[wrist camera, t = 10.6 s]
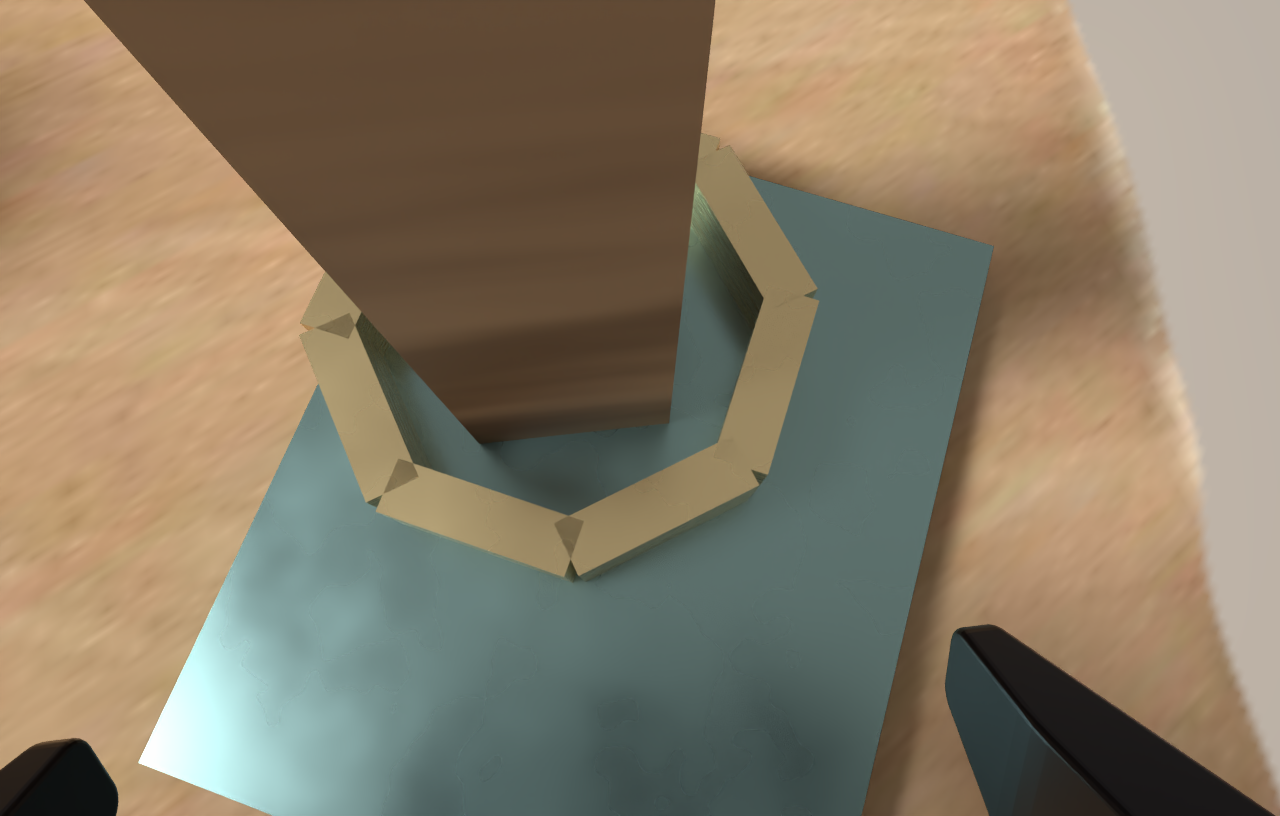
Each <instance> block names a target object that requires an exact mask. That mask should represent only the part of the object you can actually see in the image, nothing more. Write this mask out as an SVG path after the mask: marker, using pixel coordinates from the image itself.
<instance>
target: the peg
mask: <svg viewBox="0 0 1280 816" xmlns="http://www.w3.org/2000/svg"><path fill="white" fill-rule="evenodd" d="M84 1H85V2H86V3H87V4H88V5H89V7H90V8H91V9H92V10H93V11H94V12H95V13H96V14H97V16H98V17H99V18H100V19H101V20H102V21H103V22H104V23H105V25H106V26H107V27H108V28H109V29H110V30H111V31H112V32H113V34H114V35H115V36H116V37H117V38H118V39H119V40H120V41H121V42H122V44H123V45H124V46H125V47H126V48H127V49H128V50H129V51H130V53H131V54H132V55H133V56H134V57H135V58H136V59H137V60H138V62H139V63H140V64H141V65H142V66H143V67H144V68H145V69H146V71H147V72H148V73H149V74H150V75H151V76H152V77H153V78H154V80H155V81H156V82H157V83H158V84H159V85H160V86H161V87H162V88H163V90H164V91H165V92H166V93H167V94H168V95H169V96H170V97H171V99H172V100H173V101H174V102H175V103H176V104H177V105H178V106H179V108H180V109H181V110H182V111H183V112H184V113H185V114H186V115H187V117H188V118H189V119H190V120H191V121H192V122H193V123H194V124H195V126H196V127H197V128H198V129H199V130H200V131H201V132H202V133H203V134H204V136H205V137H206V138H207V139H208V140H209V141H210V142H211V143H212V145H213V146H214V147H215V148H216V149H217V150H218V151H219V152H220V154H221V155H222V156H223V157H224V158H225V159H226V160H227V161H228V163H229V164H230V165H231V166H232V167H233V168H234V169H235V170H236V172H237V173H238V174H239V175H240V176H241V177H242V178H243V179H244V181H245V182H246V183H247V184H248V185H249V186H250V187H251V188H252V189H253V191H254V192H255V193H256V194H257V195H258V196H259V197H260V198H261V200H262V201H263V202H264V203H265V204H266V205H267V206H268V207H269V209H270V210H271V211H272V212H273V213H274V214H275V215H276V216H277V218H278V219H279V220H280V221H281V222H282V223H283V224H284V225H285V227H286V228H287V229H288V230H289V231H290V232H291V233H292V234H293V235H294V237H295V238H296V239H297V240H298V241H299V242H300V243H301V244H302V246H303V247H304V248H305V249H306V250H307V251H308V252H309V253H310V255H311V256H312V257H313V258H314V259H315V260H316V261H317V262H318V264H319V265H320V266H321V267H322V268H323V269H324V270H325V271H326V273H327V274H328V275H329V276H330V277H331V278H332V279H333V280H334V281H335V283H336V284H337V285H338V286H339V287H340V288H341V289H342V290H343V292H344V293H345V294H346V295H347V296H348V297H349V298H350V299H351V301H352V302H353V303H354V304H355V305H356V306H357V307H358V308H359V310H360V311H361V312H362V313H363V314H364V315H365V316H366V317H367V319H368V320H369V321H370V322H371V323H372V324H373V325H374V326H375V327H376V329H377V330H378V331H379V332H380V333H381V334H382V335H383V336H384V338H385V339H386V340H387V341H388V342H389V343H390V344H391V345H392V347H393V348H394V349H395V350H396V351H397V352H398V353H399V354H400V356H401V357H402V358H403V359H404V360H405V361H406V362H407V363H408V365H409V366H410V367H411V368H412V369H413V370H414V371H415V372H416V374H417V375H418V376H419V377H420V378H421V379H422V380H423V381H424V382H425V384H426V385H427V386H428V387H429V388H430V389H431V390H432V391H433V393H434V394H435V395H436V396H437V397H438V398H439V399H440V400H441V402H442V403H443V404H444V405H445V406H446V407H447V408H448V409H449V411H450V412H451V413H452V414H453V415H454V416H455V417H456V418H457V420H458V421H459V422H460V423H461V424H462V425H463V426H464V427H465V428H466V430H467V431H468V432H469V433H470V434H471V435H472V436H473V437H474V439H475V440H476V441H477V442H478V443H479V444H483V443H492V442H502V441H511V440H520V439H529V438H538V437H547V436H557V435H566V434H575V433H584V432H593V431H602V430H612V429H621V428H630V427H639V426H648V425H657V424H667V423H669V420H670V411H671V401H672V392H673V383H674V374H675V365H676V356H677V347H678V337H679V328H680V319H681V310H682V301H683V292H684V283H685V273H686V264H687V255H688V246H689V237H690V228H691V219H692V209H693V200H694V191H695V182H696V173H697V164H698V155H699V145H700V136H701V127H702V118H703V109H704V100H705V91H706V81H707V72H708V63H709V54H710V45H711V36H712V27H713V17H714V8H715V0H84Z"/></svg>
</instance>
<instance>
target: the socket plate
mask: <svg viewBox="0 0 1280 816" xmlns="http://www.w3.org/2000/svg"><path fill="white" fill-rule="evenodd" d="M719 144H720V138H717V137H714V136H710V135H707V134H703V133H701V136H700V145H699V155H698V164H697V173H696V182H695V191H694V200H693V209H692V219H691V228H690V237H689V246H688V255H687V264H686V273H685V283H684V292H683V301H682V310H681V319H680V328H679V337H678V347H677V356H676V365H675V374H674V383H673V392H672V401H671V411H670V420H669V423H667V424H657V425H648V426H639V427H630V428H621V429H612V430H602V431H593V432H584V433H575V434H566V435H557V436H547V437H538V438H529V439H520V440H511V441H502V442H492V443H483V444H479V443H478V442H477V441H476V440H475V439H474V437H473V436H472V435H471V434H470V433H469V432H468V431H467V430H466V428H465V427H464V426H463V425H462V424H461V423H460V422H459V421H458V420H457V418H456V417H455V416H454V415H453V414H452V413H451V412H450V411H449V409H448V408H447V407H446V406H445V405H444V404H443V403H442V402H441V400H440V399H439V398H438V397H437V396H436V395H435V394H434V393H433V391H432V390H431V389H430V388H429V387H428V386H427V385H426V384H425V382H424V381H423V380H422V379H421V378H420V377H419V376H418V375H417V374H416V372H415V371H414V370H413V369H412V368H411V367H410V366H409V365H408V363H407V362H406V361H405V360H404V359H403V358H402V357H401V356H400V354H399V353H398V352H397V351H396V350H395V349H394V348H393V347H392V345H391V344H390V343H389V342H388V341H387V340H386V339H385V338H384V336H383V335H382V334H381V333H380V332H379V331H378V330H377V329H376V327H375V326H374V325H373V324H372V323H371V322H370V321H369V320H368V319H367V317H366V316H365V315H364V314H363V313H362V312H361V311H360V310H359V308H358V307H357V306H356V305H355V304H354V303H353V302H352V301H351V299H350V298H349V297H348V296H347V295H346V294H345V293H344V292H343V290H342V289H341V288H340V287H339V286H338V285H337V284H336V283H335V281H334V280H333V279H332V278H331V277H330V276H329V275H328V274H327V273H326V271H325V273H324V275H323V277H322V279H321V281H320V283H319V285H318V287H317V289H316V291H315V293H314V295H313V297H312V299H311V301H310V303H309V306H308V308H307V310H306V312H305V314H304V316H303V318H302V320H301V322H300V324H302V325H303V326H304V327H305V328H306V329H307V330H308V331H307V332H305V333H303V334H301V335H299V336H300V339H301V341H302V344H303V346H304V349H305V351H306V354H307V356H308V359H309V361H310V364H311V366H312V369H313V371H314V374H315V376H316V379H317V381H318V385H317V387H316V389H315V392H314V394H313V396H312V398H311V400H310V402H309V404H308V406H307V408H306V411H305V413H304V415H303V417H302V419H301V421H300V423H299V425H298V427H297V430H296V432H295V434H294V436H293V438H292V440H291V442H290V444H289V446H288V449H287V451H286V453H285V455H284V457H283V459H282V461H281V463H280V465H279V468H278V470H277V472H276V474H275V476H274V478H273V480H272V482H271V484H270V486H269V489H268V491H267V493H266V495H265V497H264V499H263V501H262V503H261V505H260V508H259V510H258V512H257V514H256V516H255V518H254V520H253V522H252V524H251V527H250V529H249V531H248V533H247V535H246V537H245V539H244V541H243V543H242V546H241V548H240V550H239V552H238V554H237V556H236V558H235V560H234V562H233V565H232V567H231V569H230V571H229V573H228V575H227V577H226V579H225V581H224V584H223V586H222V588H221V590H220V592H219V594H218V596H217V598H216V600H215V602H214V605H213V607H212V609H211V611H210V613H209V615H208V617H207V619H206V621H205V624H204V626H203V628H202V630H201V632H200V634H199V636H198V638H197V640H196V643H195V645H194V647H193V649H192V651H191V653H190V655H189V657H188V659H187V662H186V664H185V666H184V668H183V670H182V672H181V674H180V676H179V678H178V681H177V683H176V685H175V687H174V689H173V691H172V693H171V695H170V697H169V699H168V702H167V704H166V706H165V708H164V710H163V712H162V714H161V716H160V718H159V721H158V723H157V725H156V727H155V729H154V731H153V733H152V735H151V737H150V740H149V742H148V744H147V746H146V748H145V750H144V752H143V754H142V756H141V759H140V761H139V763H141V764H143V765H146V766H148V767H151V768H154V769H156V770H159V771H161V772H164V773H166V774H169V775H171V776H174V777H176V778H179V779H181V780H184V781H187V782H189V783H192V784H194V785H197V786H199V787H202V788H204V789H207V790H209V791H212V792H214V793H217V794H220V795H222V796H225V797H227V798H230V799H232V800H235V801H237V802H240V803H242V804H245V805H248V806H250V807H253V808H255V809H258V810H260V811H263V812H265V813H268V814H270V815H273V816H862V811H863V807H864V803H865V798H866V794H867V790H868V785H869V781H870V777H871V773H872V768H873V764H874V760H875V755H876V751H877V747H878V742H879V738H880V734H881V729H882V725H883V721H884V717H885V712H886V708H887V704H888V699H889V695H890V691H891V686H892V682H893V678H894V674H895V669H896V665H897V661H898V656H899V652H900V648H901V643H902V639H903V635H904V631H905V626H906V622H907V618H908V613H909V609H910V605H911V600H912V596H913V592H914V588H915V583H916V579H917V575H918V570H919V566H920V562H921V557H922V553H923V549H924V545H925V540H926V536H927V532H928V527H929V523H930V519H931V514H932V510H933V506H934V502H935V497H936V493H937V489H938V484H939V480H940V476H941V471H942V467H943V463H944V459H945V454H946V450H947V446H948V441H949V437H950V433H951V428H952V424H953V420H954V416H955V411H956V407H957V403H958V398H959V394H960V390H961V385H962V381H963V377H964V373H965V368H966V364H967V360H968V355H969V351H970V347H971V342H972V338H973V334H974V329H975V325H976V321H977V317H978V312H979V308H980V304H981V299H982V295H983V291H984V286H985V282H986V278H987V274H988V269H989V265H990V261H991V256H992V252H993V248H994V246H992V245H988V244H985V243H981V242H978V241H974V240H971V239H967V238H964V237H960V236H957V235H953V234H950V233H946V232H943V231H939V230H936V229H933V228H929V227H926V226H922V225H919V224H915V223H912V222H908V221H905V220H901V219H898V218H894V217H891V216H887V215H884V214H880V213H877V212H873V211H870V210H866V209H863V208H859V207H856V206H852V205H849V204H845V203H842V202H838V201H835V200H831V199H828V198H824V197H821V196H817V195H814V194H810V193H807V192H803V191H800V190H796V189H793V188H789V187H786V186H782V185H779V184H775V183H772V182H768V181H765V180H761V179H758V178H755V177H751V176H748V174H747V173H746V171H745V169H744V168H743V166H742V164H741V163H740V161H739V160H738V158H737V156H736V155H735V153H734V151H733V150H732V148H731V147H730V145H729V146H727V147H724V148H722V149H720V150H719Z"/></svg>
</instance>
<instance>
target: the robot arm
mask: <svg viewBox="0 0 1280 816" xmlns="http://www.w3.org/2000/svg"><path fill="white" fill-rule="evenodd" d="M945 691H946V697H947V701H948V705H949V708H950V710H951V713H952V716H953V718H954V721H955V724H956V727H957V729H958V732H959V735H960V737H961V740H962V743H963V745H964V748H965V751H966V754H967V756H968V759H969V762H970V764H971V767H972V770H973V772H974V775H975V778H976V781H977V783H978V786H979V789H980V791H981V794H982V797H983V799H984V802H985V805H986V808H987V810H988V813H989V816H1275V815H1274V814H1272V813H1271V812H1269V811H1268V810H1266V809H1265V808H1263V807H1262V806H1260V805H1259V804H1258V803H1256V802H1255V801H1253V800H1252V799H1250V798H1249V797H1247V796H1246V795H1244V794H1243V793H1241V792H1240V791H1239V790H1237V789H1236V788H1234V787H1233V786H1231V785H1230V784H1228V783H1227V782H1225V781H1224V780H1222V779H1221V778H1220V777H1218V776H1217V775H1215V774H1214V773H1212V772H1211V771H1209V770H1208V769H1206V768H1205V767H1203V766H1202V765H1201V764H1199V763H1198V762H1196V761H1195V760H1193V759H1192V758H1190V757H1189V756H1187V755H1186V754H1184V753H1183V752H1182V751H1180V750H1179V749H1177V748H1176V747H1174V746H1173V745H1171V744H1170V743H1168V742H1167V741H1165V740H1164V739H1163V738H1161V737H1160V736H1158V735H1157V734H1155V733H1154V732H1152V731H1151V730H1149V729H1148V728H1146V727H1145V726H1144V725H1142V724H1141V723H1139V722H1138V721H1136V720H1135V719H1133V718H1132V717H1130V716H1129V715H1127V714H1126V713H1125V712H1123V711H1122V710H1120V709H1119V708H1117V707H1116V706H1114V705H1113V704H1111V703H1110V702H1108V701H1107V700H1106V699H1104V698H1103V697H1101V696H1100V695H1098V694H1097V693H1095V692H1094V691H1092V690H1091V689H1089V688H1088V687H1087V686H1085V685H1084V684H1082V683H1081V682H1079V681H1078V680H1076V679H1075V678H1073V677H1072V676H1070V675H1069V674H1068V673H1066V672H1065V671H1063V670H1062V669H1060V668H1059V667H1057V666H1056V665H1054V664H1053V663H1051V662H1050V661H1049V660H1047V659H1046V658H1044V657H1043V656H1041V655H1040V654H1038V653H1037V652H1035V651H1034V650H1032V649H1031V648H1030V647H1028V646H1027V645H1025V644H1024V643H1022V642H1021V641H1019V640H1018V639H1016V638H1015V637H1014V636H1012V635H1011V634H1009V633H1008V632H1006V631H1005V630H1003V629H1002V628H1000V627H998V626H995V625H991V624H987V625H979V626H971V627H963V628H959V629H957V630H956V631H955V632H954V633H953V636H952V639H951V645H950V652H949V659H948V666H947V673H946V680H945ZM117 809H118V792H117V788H116V786H115V784H114V782H113V780H112V779H111V777H110V776H109V774H108V773H107V771H106V770H105V768H104V767H103V765H102V763H101V762H100V760H99V759H98V757H97V756H96V754H95V753H94V751H93V750H92V748H91V746H90V745H89V744H88V743H87V742H86V741H84V740H82V739H79V738H71V739H63V740H55V741H47V742H42V743H39V744H36V745H34V746H32V747H30V748H29V749H27V750H26V751H24V752H23V753H22V754H20V755H19V756H18V757H17V758H15V759H14V760H13V761H11V762H10V763H9V764H8V765H6V766H5V767H4V768H2V769H1V770H0V816H116V813H117Z"/></svg>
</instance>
